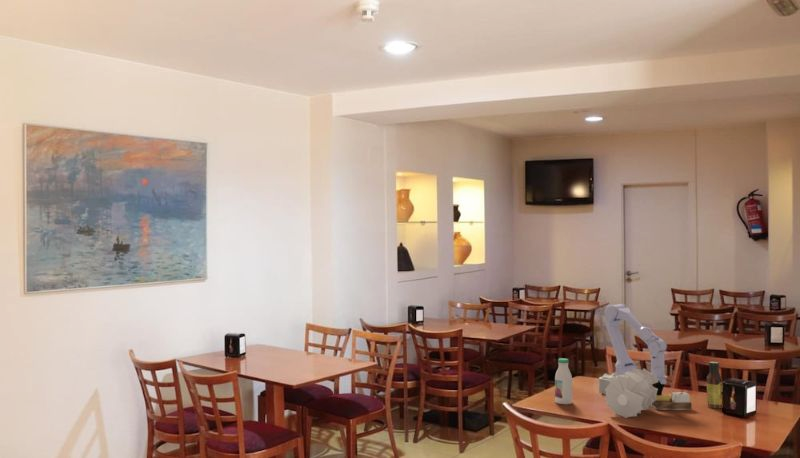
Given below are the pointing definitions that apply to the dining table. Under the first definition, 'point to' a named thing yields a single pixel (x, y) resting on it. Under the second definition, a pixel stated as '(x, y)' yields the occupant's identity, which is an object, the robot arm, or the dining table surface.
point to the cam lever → (664, 397)
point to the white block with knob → (680, 397)
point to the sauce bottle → (714, 386)
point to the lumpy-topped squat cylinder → (605, 382)
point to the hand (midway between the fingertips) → (658, 396)
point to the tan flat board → (671, 405)
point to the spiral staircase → (631, 392)
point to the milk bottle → (563, 383)
